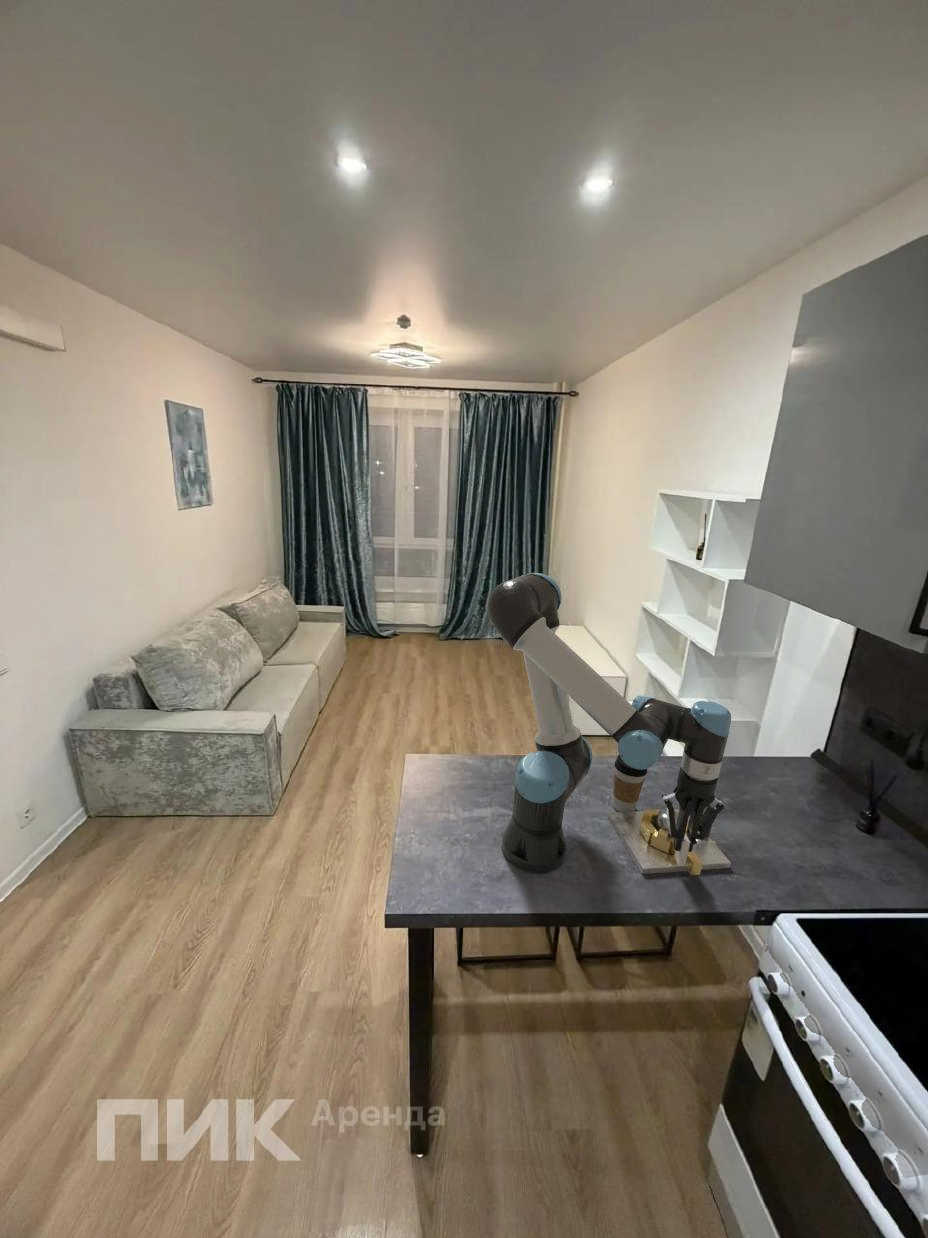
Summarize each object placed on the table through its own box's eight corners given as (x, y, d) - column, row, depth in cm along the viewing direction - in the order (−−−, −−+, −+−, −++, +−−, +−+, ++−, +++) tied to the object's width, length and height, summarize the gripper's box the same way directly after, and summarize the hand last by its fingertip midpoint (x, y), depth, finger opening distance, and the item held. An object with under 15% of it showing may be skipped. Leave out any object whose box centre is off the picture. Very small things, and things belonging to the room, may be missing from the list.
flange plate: (645, 880, 112) (651, 852, 110) (607, 817, 132) (611, 793, 129) (735, 873, 116) (743, 847, 113) (685, 813, 135) (691, 790, 133)
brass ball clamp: (632, 820, 129) (635, 806, 127) (675, 818, 130) (678, 804, 129) (670, 877, 111) (674, 861, 110) (719, 873, 113) (723, 858, 112)
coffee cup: (635, 798, 140) (644, 752, 136) (643, 819, 132) (652, 770, 128) (605, 795, 141) (613, 748, 136) (610, 815, 133) (619, 766, 128)
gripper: (674, 779, 104) (655, 871, 111) (738, 785, 103) (715, 876, 110) (662, 759, 111) (645, 846, 118) (722, 764, 110) (702, 851, 117)
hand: (679, 861), depth 114 cm, fingers closed
